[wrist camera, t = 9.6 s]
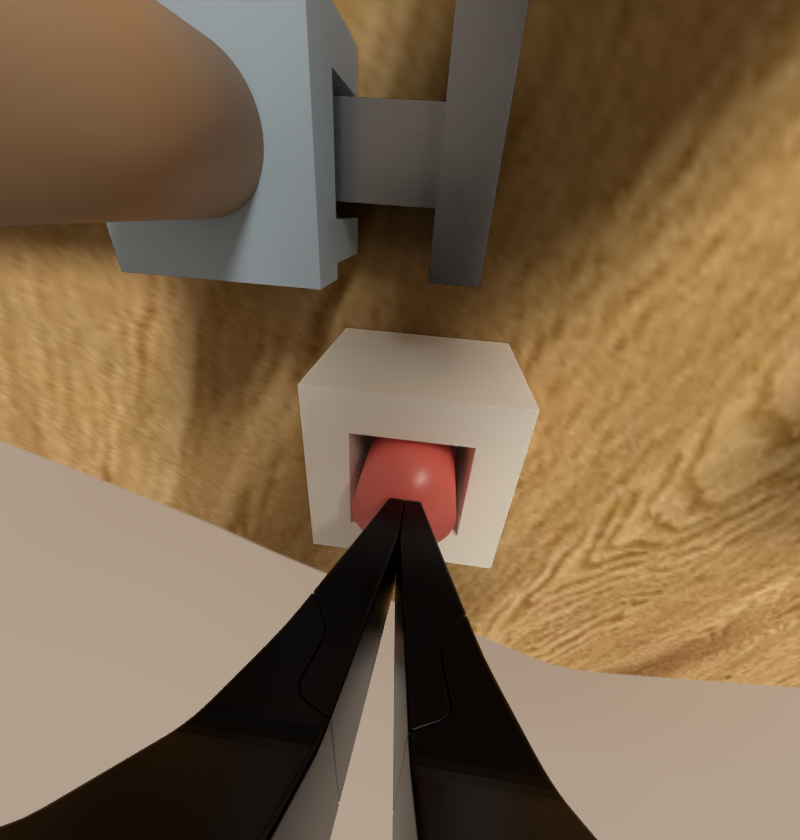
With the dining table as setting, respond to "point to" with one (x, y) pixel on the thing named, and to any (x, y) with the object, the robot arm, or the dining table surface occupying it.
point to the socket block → (417, 427)
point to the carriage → (181, 132)
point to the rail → (440, 140)
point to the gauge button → (408, 481)
